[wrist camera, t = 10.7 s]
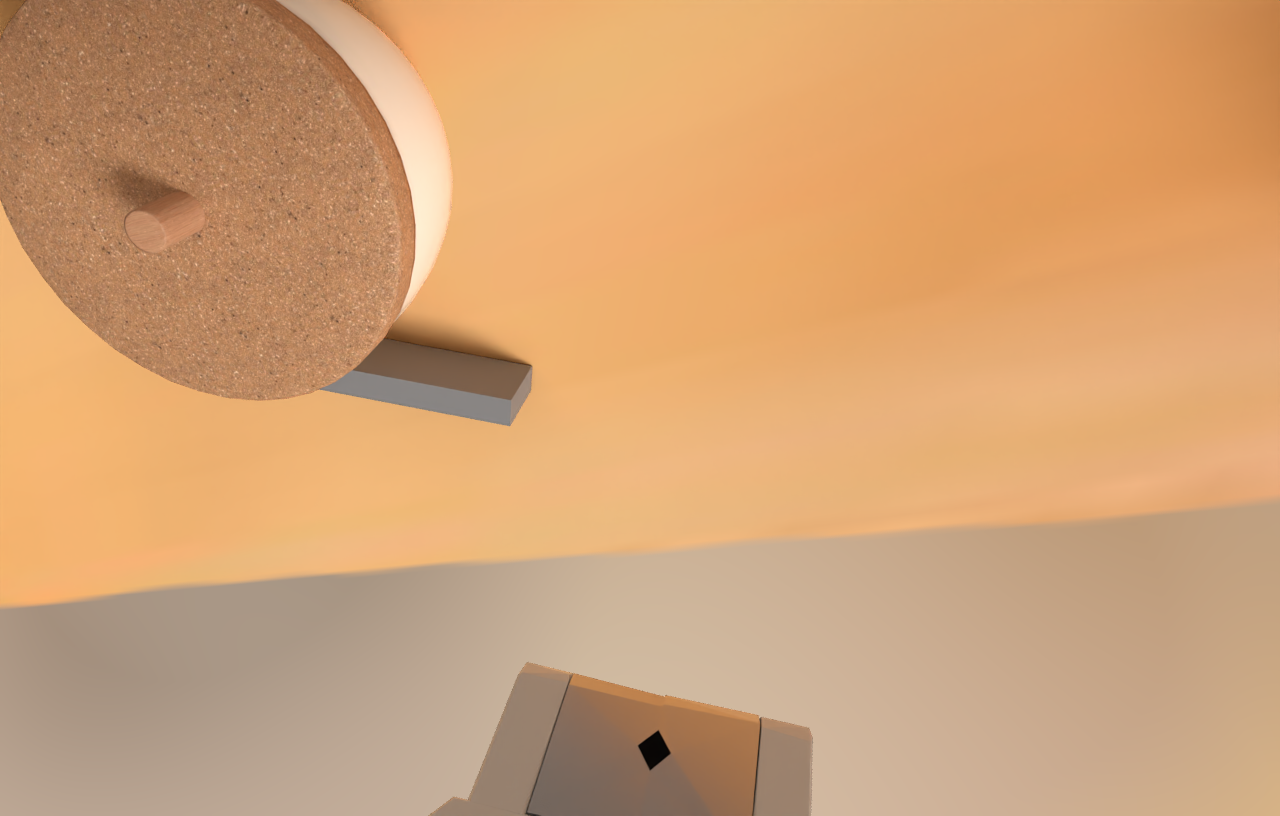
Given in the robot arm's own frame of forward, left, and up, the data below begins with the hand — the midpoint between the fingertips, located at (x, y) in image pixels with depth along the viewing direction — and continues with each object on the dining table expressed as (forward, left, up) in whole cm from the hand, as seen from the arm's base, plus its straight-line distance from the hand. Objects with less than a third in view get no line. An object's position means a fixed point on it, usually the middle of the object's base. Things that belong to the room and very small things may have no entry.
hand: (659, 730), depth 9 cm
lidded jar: (+13, 0, -20) cm, 24 cm away
